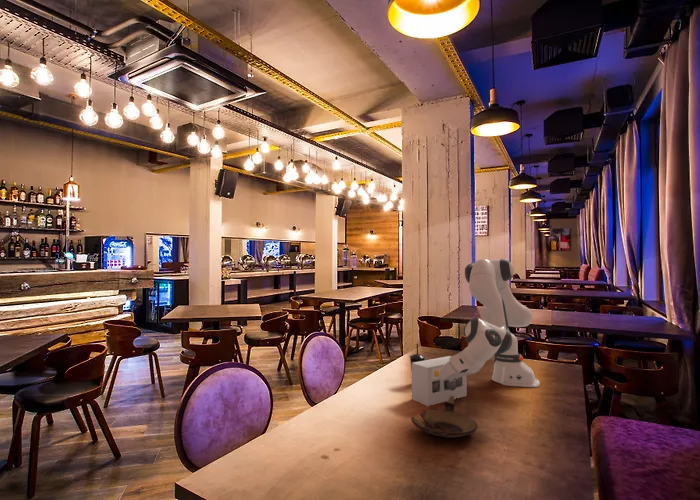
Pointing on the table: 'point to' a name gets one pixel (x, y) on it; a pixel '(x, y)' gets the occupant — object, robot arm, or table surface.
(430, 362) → the console
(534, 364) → the table surface
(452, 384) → the button
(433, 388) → the button
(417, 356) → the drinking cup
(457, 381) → the button
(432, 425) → the oil lamp
